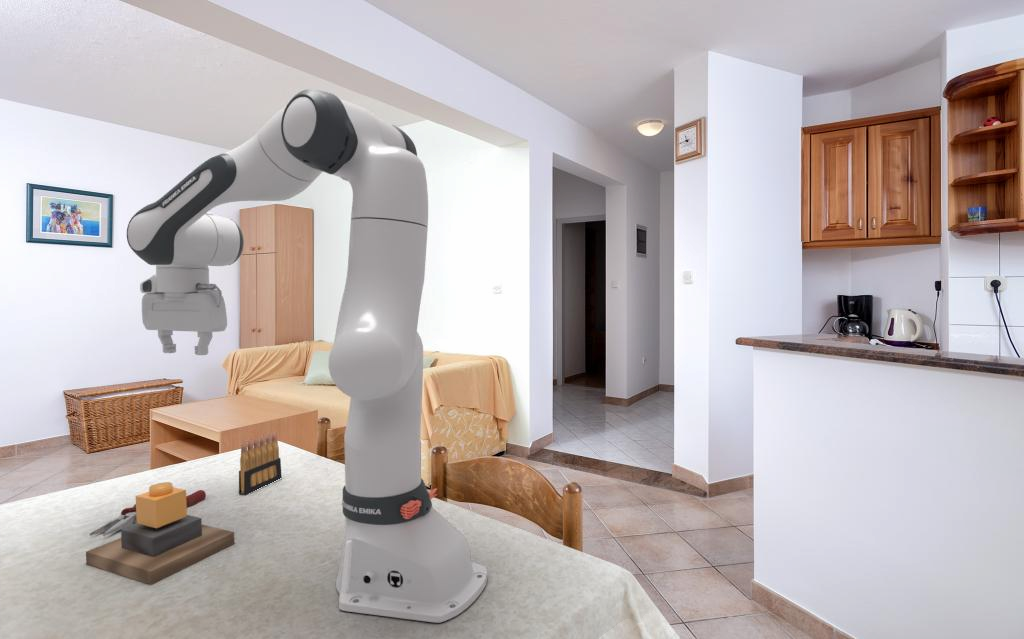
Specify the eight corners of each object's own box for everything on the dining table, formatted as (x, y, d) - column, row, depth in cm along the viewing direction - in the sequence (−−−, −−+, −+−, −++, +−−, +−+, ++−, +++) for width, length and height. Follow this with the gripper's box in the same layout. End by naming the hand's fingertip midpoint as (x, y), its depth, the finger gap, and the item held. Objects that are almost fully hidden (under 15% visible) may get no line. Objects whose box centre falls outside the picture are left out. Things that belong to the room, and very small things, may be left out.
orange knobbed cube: (186, 516, 88) (185, 482, 87) (156, 528, 83) (155, 493, 83) (167, 511, 90) (166, 478, 89) (136, 523, 85) (135, 488, 85)
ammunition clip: (245, 495, 112) (243, 440, 112) (238, 494, 113) (236, 439, 112) (281, 479, 122) (280, 428, 122) (275, 478, 123) (274, 427, 122)
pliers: (69, 539, 93) (68, 525, 93) (161, 497, 113) (161, 485, 113) (125, 544, 91) (124, 529, 91) (208, 500, 111) (208, 488, 111)
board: (234, 543, 90) (232, 489, 89) (150, 584, 77) (148, 521, 77) (173, 528, 96) (171, 477, 96) (86, 563, 83) (83, 505, 83)
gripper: (235, 283, 101) (236, 354, 102) (165, 284, 109) (167, 350, 110) (204, 283, 96) (206, 358, 96) (134, 284, 104) (136, 353, 104)
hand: (185, 354), depth 103 cm, fingers open, 8 cm apart
